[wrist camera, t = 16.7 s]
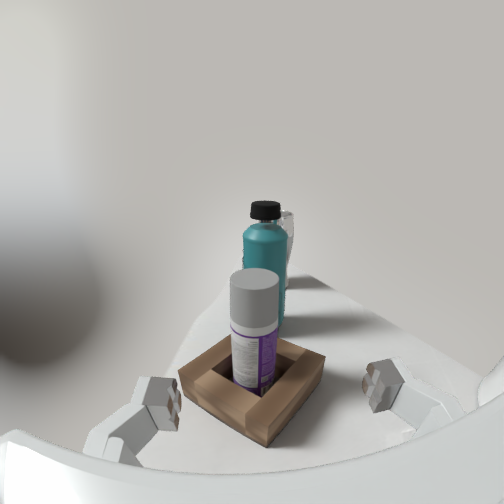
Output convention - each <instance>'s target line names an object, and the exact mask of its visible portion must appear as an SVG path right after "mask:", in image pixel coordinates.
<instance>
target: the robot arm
mask: <svg viewBox="0 0 504 504" xmlns="http://www.w3.org/2000/svg"><path fill="white" fill-rule="evenodd" d="M366 370H367V372H368V373H367V374H366V375H365V376H364V378H363V381H362V387H363V392H364V394H365V396H367V397H368V398H370V400H369V405H370V407H371V409H372V411H373V413H378V412H382V411H386V410H389V409H390V411H392V412H393V413H394V414H396V415H397V416H398V417H400V418H401V419H402V420H404V421H405V422H407V423H408V424H409V425H411V426H412V427H413V428H415V429H416V430H417V431H416V432H415V434H414V435H413V436H412V438H411V440H410V441H408V442H405V443H402V444H400V445H397V446H394V447H391V448H388V449H385V450H382V451H379V452H375V453H372V454H368V455H365V456H361V457H357V458H354V459H349V460H345V461H341V462H336V463H332V464H327V465H321V466H316V467H310V468H304V469H297V470H289V471H280V472H269V473H254V474H198V473H184V472H173V471H164V470H157V469H150V468H144V467H143V466H142V464H141V463H140V462H139V461H138V459H137V458H136V457H135V456H136V455H137V454H138V453H139V452H140V450H141V449H142V448H143V447H144V446H145V445H146V444H147V443H148V442H149V441H150V440H151V439H152V438H153V437H154V435H155V434H156V433H157V432H158V430H161V431H178V424H179V417H178V413H179V412H180V411H181V394H180V391H179V390H177V382H176V379H174V378H161V377H148V376H140V378H139V379H138V382H137V385H136V388H135V391H134V393H133V396H132V399H131V402H130V404H129V403H127V404H125V405H124V406H123V407H121V409H119V410H118V411H116V412H115V413H114V414H112V415H111V416H110V417H108V418H107V419H105V420H104V421H103V422H101V423H100V424H99V425H97V426H96V427H95V428H93V429H92V430H91V431H90V433H89V435H88V438H87V440H86V443H85V446H84V449H83V451H82V453H80V452H77V451H74V450H70V449H68V448H65V447H62V446H59V445H56V444H54V443H51V442H49V441H46V440H44V439H41V438H38V437H36V436H34V435H32V434H29V433H27V432H25V431H23V430H20V429H15V430H12V431H10V432H8V433H6V434H4V435H2V436H0V504H504V356H503V357H502V359H501V360H500V361H499V363H498V364H497V365H496V366H495V367H494V369H493V370H492V371H491V372H490V373H489V374H488V375H487V376H486V377H485V378H484V379H483V380H482V381H481V383H480V386H479V390H478V401H479V406H480V407H479V408H477V409H476V410H474V411H472V412H470V413H468V414H467V413H466V412H465V410H464V409H463V407H462V406H461V404H460V403H459V401H458V400H457V398H456V397H455V396H452V395H450V394H448V393H446V392H444V391H442V390H440V389H438V388H436V387H434V386H432V385H430V384H428V383H426V382H424V381H422V380H420V379H415V378H414V377H413V375H412V374H411V372H410V371H409V369H408V368H407V366H406V365H405V363H404V362H403V360H402V359H401V358H400V357H395V358H390V359H386V360H381V361H377V362H372V363H369V364H368V366H367V369H366Z"/></svg>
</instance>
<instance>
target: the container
mask: <svg viewBox="0 0 504 504" xmlns="http://www.w3.org/2000/svg"><path fill="white" fill-rule="evenodd" d="M278 306H279V277H278V275H277V274H276V273H274V272H272V271H270V270H267V269H261V268H248V269H242V270H239V271H236V272H235V273H233V274H232V275H231V277H230V326H231V345H232V362H233V378H234V383H235V384H237V385H238V386H240V387H242V388H244V389H246V390H247V391H249V392H251V393H253V394H255V395H257V396H259V397H261V398H262V397H263V396H264V395H265V394H266V393H267V392H268V391H269V390H270V389H271V388H272V386H273V385H274V374H275V361H276V348H277V333H278Z"/></svg>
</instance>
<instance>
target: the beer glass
mask: <svg viewBox="0 0 504 504" xmlns="http://www.w3.org/2000/svg"><path fill="white" fill-rule="evenodd" d="M259 223H273V224H277V225H279V226H281V227H282V228H283V229H284V230H285V231H286V232H287V234H288V239H287V259H286V277H285V288H286V287H288V284H289V281H288V273H287V269H288V263H289V258H290V254H291V250H292V244H293V235H294V226H293V224H294V223H293V213H291V212H288V211H283V210H281V218H280V219H278V220H270V221H264V220H259Z"/></svg>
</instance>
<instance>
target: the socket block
mask: <svg viewBox="0 0 504 504" xmlns="http://www.w3.org/2000/svg"><path fill="white" fill-rule="evenodd" d="M325 358H326V356H323V355H321V354H318V353H315V352H313V351H310V350H308V349H305V348H302V347H300V346H297V345H295V344H292V343H290V342H287V341H285V340H282V339H280V338H277V348H276V361H275V374H274V385H273V386H272V388H271V389H270V390H269V391H268V392H267V393H266V394H265V395H264V396H263V397H262V398H261V397H259V396H257V395H255V394H253V393H251V392H249V391H247V390H246V389H244V388H242V387H240V386H238V385H237V384H235V383H234V378H233V362H232V345H231V334H230V335H228V336H227V337H226V338H224V339H223V340H221V341H220V342H219V343H217V344H216V345H214V346H213V347H211V348H210V349H208V350H207V351H206V352H204V353H203V354H201V355H200V356H198V357H197V358H195V359H194V360H192V361H191V362H189V363H188V364H186V365H185V366H184V367H182V368H181V369H179V370H178V373H179V377H180V382H181V386H182V390H183V393H184V396H185V397H187V398H188V399H190V400H191V401H192V402H194V403H195V404H196V405H198V406H199V407H201V408H202V409H204V410H205V411H206V412H208V413H209V414H211V415H212V416H214V417H215V418H217V419H218V420H220V421H221V422H223V423H224V424H226V425H228V426H229V427H231V428H232V429H234V430H236V431H237V432H239V433H241V434H242V435H244V436H246V437H247V438H249V439H251V440H252V441H254V442H256V443H258V444H260V445H261V446H263V447H265V448H267V447H268V446H269V444H270V443H271V442H272V441H273V440H274V439H275V438H276V437H277V435H278V434H279V433H280V432H281V431H282V430H283V428H284V427H285V426H286V425H287V424H288V422H289V421H290V420H291V419H292V418H293V416H294V415H295V414H296V413H297V411H298V410H299V409H300V408H301V406H302V405H303V404H304V402H305V401H306V400H307V399H308V397H309V396H310V395H311V393H312V392H313V391H314V389H315V388H316V387H317V385H318V384H319V382H320V380H321V375H322V371H323V367H324V362H325Z"/></svg>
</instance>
